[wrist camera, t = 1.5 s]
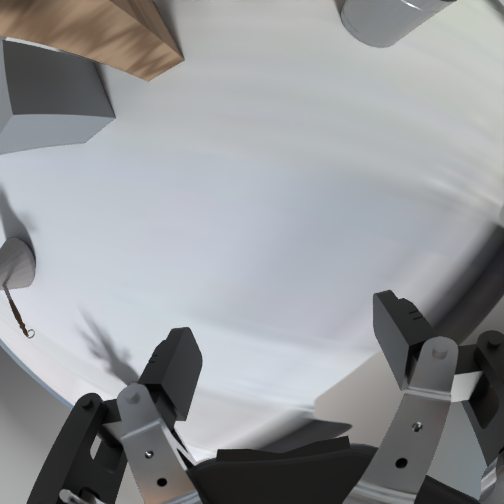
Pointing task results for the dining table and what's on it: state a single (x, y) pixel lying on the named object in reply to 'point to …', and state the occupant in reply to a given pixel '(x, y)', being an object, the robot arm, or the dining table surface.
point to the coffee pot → (16, 271)
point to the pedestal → (48, 99)
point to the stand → (97, 31)
